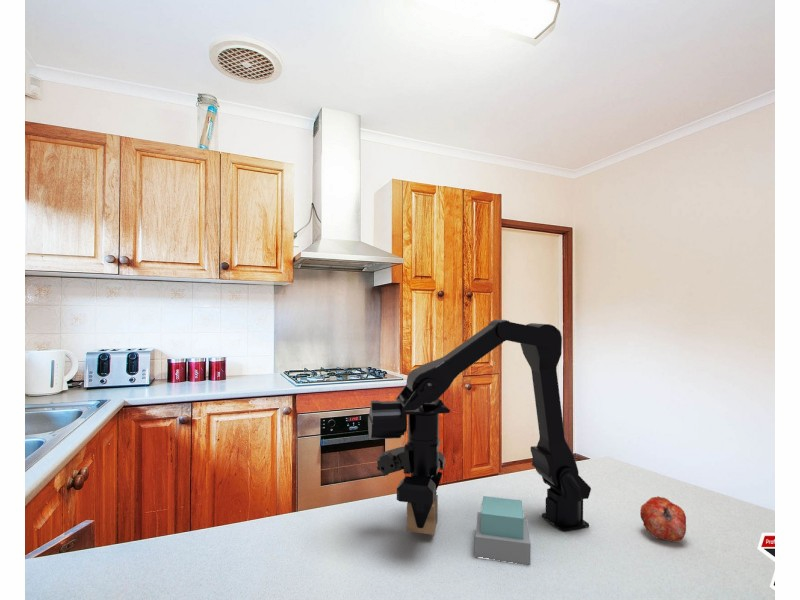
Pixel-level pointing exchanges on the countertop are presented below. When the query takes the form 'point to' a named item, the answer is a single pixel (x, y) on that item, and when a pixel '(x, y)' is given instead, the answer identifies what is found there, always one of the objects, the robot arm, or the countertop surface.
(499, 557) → the slate block
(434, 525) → the walnut cube
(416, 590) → the countertop surface
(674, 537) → the pomegranate
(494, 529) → the teal block
